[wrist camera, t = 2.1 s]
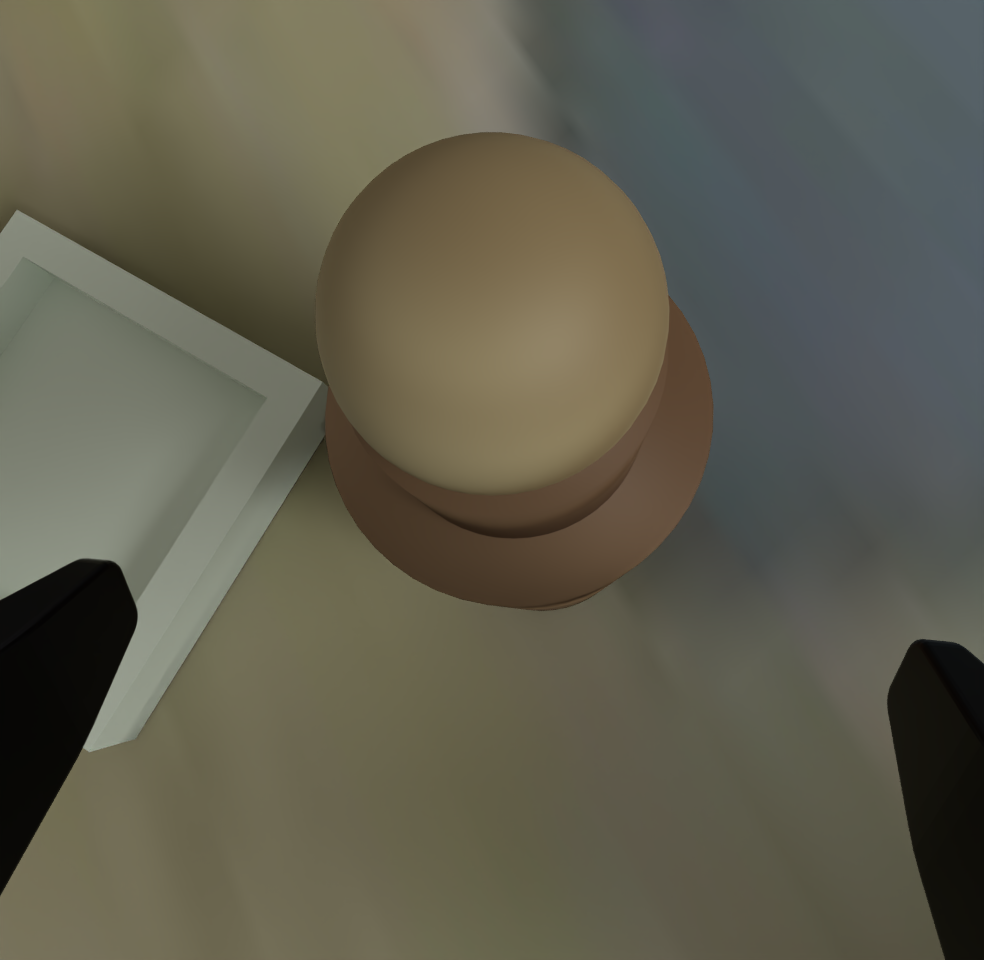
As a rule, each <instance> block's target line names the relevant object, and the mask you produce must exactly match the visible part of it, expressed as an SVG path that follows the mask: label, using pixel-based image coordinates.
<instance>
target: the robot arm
mask: <svg viewBox="0 0 984 960" xmlns="http://www.w3.org/2000/svg"><path fill="white" fill-rule="evenodd" d="M137 621H138V611H137V607H136V604H135V601H134V599H133V596H132V594H131V592H130V589H129V587H128V584H127V582H126V579H125V577H124V574H123V572H122V570H121V568H120V566H119V565H118V564H116V563H115V562H113V561H111V560H101V559H91V558H82V559H78V560H75V561H73V562H71V563H69V564H68V565H66V566H64V567H62V568H60V569H58V570H56V571H54V572H52V573H50V574H49V575H47V576H45V577H43V578H41V579H39V580H37V581H35V582H33V583H32V584H30V585H28V586H26V587H24V588H22V589H20V590H18V591H16V592H14V593H13V594H11V595H9V596H7V597H5V598H3V599H1V600H0V895H1V894H2V892H3V890H4V888H5V887H6V885H7V883H8V881H9V879H10V878H11V876H12V874H13V872H14V870H15V869H16V867H17V865H18V863H19V862H20V860H21V858H22V856H23V854H24V853H25V851H26V849H27V847H28V846H29V844H30V842H31V840H32V838H33V837H34V835H35V833H36V831H37V829H38V828H39V826H40V824H41V822H42V821H43V819H44V817H45V815H46V813H47V812H48V810H49V808H50V806H51V804H52V803H53V801H54V799H55V797H56V796H57V794H58V792H59V790H60V788H61V787H62V785H63V783H64V781H65V780H66V778H67V776H68V774H69V772H70V771H71V769H72V767H73V765H74V763H75V762H76V760H77V758H78V756H79V754H80V752H81V750H82V748H83V746H84V745H85V743H86V740H87V738H88V736H89V734H90V732H91V730H92V728H93V726H94V724H95V721H96V719H97V717H98V714H99V712H100V710H101V707H102V705H103V703H104V701H105V698H106V696H107V694H108V691H109V689H110V687H111V685H112V682H113V680H114V678H115V675H116V673H117V671H118V668H119V666H120V664H121V662H122V659H123V657H124V655H125V652H126V650H127V648H128V646H129V643H130V641H131V639H132V636H133V634H134V632H135V629H136V626H137ZM887 708H888V715H889V721H890V726H891V732H892V737H893V743H894V749H895V754H896V760H897V765H898V771H899V777H900V782H901V788H902V793H903V799H904V805H905V810H906V816H907V821H908V827H909V832H910V836H911V841H912V846H913V851H914V855H915V858H916V862H917V866H918V869H919V873H920V877H921V880H922V883H923V887H924V890H925V893H926V897H927V900H928V904H929V907H930V910H931V914H932V917H933V920H934V924H935V927H936V931H937V934H938V937H939V941H940V944H941V947H942V951H943V954H944V957H945V960H984V663H982V662H981V661H980V660H979V659H978V658H977V657H975V656H974V655H973V654H972V653H971V652H970V651H968V650H967V649H966V648H964V647H963V646H961V645H960V644H957V643H954V642H946V641H936V640H926V639H920V640H916V641H915V642H913V643H912V644H911V645H910V647H909V649H908V650H907V653H906V655H905V657H904V659H903V661H902V663H901V665H900V667H899V669H898V671H897V673H896V675H895V677H894V679H893V682H892V684H891V686H890V688H889V692H888V699H887Z"/></svg>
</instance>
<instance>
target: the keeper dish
mask: <svg viewBox="0 0 984 960" xmlns="http://www.w3.org/2000/svg"><path fill="white" fill-rule="evenodd" d="M327 394H328V386H326V385H325V384H324V383H323V382H322V381H320V380H318V379H317V378H315V377H313V376H311V375H310V374H308V373H306V372H304V371H303V370H301V369H299V368H297V367H295V366H294V365H292V364H290V363H288V362H287V361H285V360H283V359H281V358H279V357H278V356H276V355H274V354H272V353H271V352H269V351H267V350H265V349H263V348H262V347H260V346H258V345H256V344H255V343H253V342H251V341H249V340H247V339H246V338H244V337H242V336H240V335H239V334H237V333H235V332H233V331H231V330H230V329H228V328H226V327H224V326H223V325H221V324H219V323H217V322H216V321H214V320H212V319H210V318H208V317H207V316H205V315H203V314H201V313H200V312H198V311H196V310H194V309H192V308H191V307H189V306H187V305H185V304H184V303H182V302H180V301H178V300H176V299H175V298H173V297H171V296H169V295H168V294H166V293H164V292H162V291H160V290H159V289H157V288H155V287H153V286H152V285H150V284H148V283H146V282H145V281H143V280H141V279H139V278H137V277H136V276H134V275H132V274H130V273H129V272H127V271H125V270H123V269H121V268H120V267H118V266H116V265H114V264H113V263H111V262H109V261H107V260H105V259H104V258H102V257H100V256H98V255H97V254H95V253H93V252H91V251H89V250H88V249H86V248H84V247H82V246H81V245H79V244H77V243H75V242H74V241H72V240H70V239H68V238H66V237H65V236H63V235H61V234H59V233H58V232H56V231H54V230H52V229H50V228H49V227H47V226H45V225H43V224H42V223H40V222H38V221H36V220H34V219H33V218H31V217H29V216H27V215H26V214H24V213H22V212H20V211H18V210H16V212H15V213H14V215H13V216H12V218H11V219H10V220H9V222H8V223H7V225H6V226H5V227H4V229H3V230H2V232H1V233H0V600H1V599H3V598H5V597H7V596H9V595H11V594H13V593H14V592H16V591H18V590H20V589H22V588H24V587H26V586H28V585H30V584H32V583H33V582H35V581H37V580H39V579H41V578H43V577H45V576H47V575H49V574H50V573H52V572H54V571H56V570H58V569H60V568H62V567H64V566H66V565H68V564H69V563H71V562H73V561H75V560H78V559H82V558H91V559H101V560H111V561H113V562H115V563H116V564H118V565H119V566H120V568H121V570H122V572H123V574H124V577H125V579H126V582H127V584H128V587H129V589H130V592H131V594H132V596H133V599H134V601H135V604H136V607H137V611H138V621H137V626H136V629H135V632H134V634H133V636H132V639H131V641H130V643H129V646H128V648H127V650H126V652H125V655H124V657H123V659H122V662H121V664H120V666H119V668H118V671H117V673H116V675H115V678H114V680H113V682H112V685H111V687H110V689H109V691H108V694H107V696H106V698H105V701H104V703H103V705H102V707H101V710H100V712H99V714H98V717H97V719H96V721H95V724H94V726H93V728H92V730H91V732H90V734H89V736H88V738H87V740H86V743H85V745H84V746H83V748H84V749H86V750H87V751H88V752H92V751H95V750H98V749H102V748H105V747H109V746H112V745H116V744H119V743H123V742H126V741H130V740H133V739H136V737H137V736H138V734H139V732H140V731H141V729H142V728H143V726H144V724H145V723H146V721H147V720H148V718H149V716H150V715H151V713H152V712H153V710H154V708H155V707H156V705H157V704H158V702H159V700H160V699H161V697H162V696H163V694H164V692H165V691H166V689H167V688H168V686H169V684H170V683H171V681H172V679H173V678H174V676H175V675H176V673H177V671H178V670H179V668H180V667H181V665H182V663H183V662H184V660H185V659H186V657H187V655H188V654H189V652H190V651H191V649H192V647H193V646H194V644H195V643H196V641H197V639H198V638H199V636H200V635H201V633H202V631H203V630H204V628H205V627H206V625H207V623H208V622H209V620H210V619H211V617H212V615H213V614H214V612H215V611H216V609H217V607H218V606H219V604H220V603H221V601H222V599H223V598H224V596H225V595H226V593H227V591H228V590H229V588H230V587H231V585H232V583H233V582H234V580H235V579H236V577H237V575H238V574H239V572H240V570H241V569H242V567H243V566H244V564H245V562H246V561H247V559H248V558H249V556H250V554H251V553H252V551H253V550H254V548H255V546H256V545H257V543H258V542H259V540H260V538H261V537H262V535H263V534H264V532H265V530H266V529H267V527H268V526H269V524H270V522H271V521H272V519H273V518H274V516H275V514H276V513H277V511H278V510H279V508H280V506H281V505H282V503H283V502H284V500H285V498H286V497H287V495H288V494H289V492H290V490H291V489H292V487H293V486H294V484H295V482H296V481H297V479H298V478H299V476H300V474H301V473H302V471H303V470H304V468H305V466H306V465H307V463H308V462H309V460H310V458H311V457H312V455H313V453H314V452H315V450H316V449H317V447H318V445H319V444H320V442H321V441H322V439H323V437H324V436H325V410H326V402H327Z"/></svg>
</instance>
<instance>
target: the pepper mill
mask: <svg viewBox="0 0 984 960" xmlns="http://www.w3.org/2000/svg"><path fill="white" fill-rule="evenodd" d="M315 328H316V338H317V345H318V351H319V356H320V359H321V362H322V366H323V369H324V373H325V376H326V378H327V381H328V384H329V387H328V394H327V402H326V410H325V436H326V444H327V451H328V457H329V463H330V466H331V470H332V473H333V476H334V480H335V483H336V486H337V488H338V491H339V493H340V495H341V497H342V500H343V502H344V504H345V506H346V508H347V510H348V511H349V513H350V515H351V516H352V518H353V519H354V521H355V523H356V524H357V526H358V528H359V529H360V530H361V531H362V532H363V534H364V535H365V536H366V537H367V539H368V540H369V541H370V542H371V543H372V545H373V546H374V547H375V548H376V549H377V550H378V551H379V552H380V553H381V554H383V555H384V556H385V557H386V558H387V559H388V560H389V561H390V562H391V563H392V564H393V565H395V566H396V567H398V568H399V569H401V570H402V571H403V572H405V573H406V574H408V575H409V576H411V577H412V578H413V579H415V580H417V581H419V582H421V583H423V584H425V585H427V586H429V587H431V588H433V589H435V590H437V591H439V592H442V593H445V594H448V595H451V596H453V597H456V598H459V599H462V600H467V601H472V602H477V603H481V604H486V605H494V606H502V607H510V608H518V609H526V610H538V611H545V610H556V609H562V608H567V607H570V606H572V605H575V604H578V603H580V602H583V601H585V600H587V599H589V598H590V597H592V596H593V595H595V594H596V593H598V592H599V591H601V590H602V589H604V588H605V587H607V586H608V585H610V584H611V583H612V582H614V581H615V580H617V579H618V578H620V577H621V576H623V575H624V574H625V573H627V572H628V571H630V570H631V569H633V568H634V567H635V566H637V565H638V564H639V563H641V562H642V561H643V560H644V559H645V558H646V557H647V556H649V555H650V554H651V553H652V552H653V551H654V550H655V549H656V548H658V547H659V545H660V544H661V543H662V542H663V541H664V540H665V538H666V537H667V536H668V535H669V534H670V533H671V531H672V530H673V529H674V528H675V527H676V525H677V524H678V522H679V521H680V519H681V518H682V516H683V515H684V513H685V511H686V510H687V508H688V507H689V505H690V503H691V501H692V499H693V497H694V495H695V493H696V491H697V488H698V486H699V484H700V482H701V479H702V476H703V473H704V470H705V466H706V463H707V460H708V457H709V451H710V445H711V438H712V432H713V399H712V391H711V382H710V378H709V374H708V370H707V366H706V362H705V358H704V355H703V353H702V351H701V348H700V346H699V343H698V341H697V338H696V336H695V334H694V332H693V330H692V329H691V327H690V325H689V323H688V322H687V320H686V318H685V317H684V315H683V313H682V312H681V310H680V309H679V308H678V307H677V305H676V304H675V303H674V302H673V300H672V299H671V298H670V296H669V295H668V291H667V283H666V276H665V273H664V269H663V265H662V261H661V257H660V254H659V251H658V249H657V247H656V244H655V242H654V239H653V237H652V235H651V233H650V231H649V229H648V227H647V225H646V224H645V222H644V220H643V219H642V217H641V215H640V213H639V212H638V210H637V208H636V207H635V206H634V204H633V203H632V202H631V201H630V199H629V198H628V197H627V196H626V194H625V193H624V192H623V191H622V190H621V189H620V188H619V187H618V186H617V185H616V184H615V183H614V182H613V181H612V180H611V179H610V178H609V177H607V176H606V175H605V174H604V173H603V172H602V171H601V170H599V169H598V168H597V167H595V166H594V165H592V164H591V163H590V162H588V161H587V160H586V159H584V158H582V157H580V156H579V155H577V154H575V153H573V152H571V151H569V150H568V149H566V148H563V147H560V146H558V145H555V144H553V143H550V142H547V141H544V140H540V139H536V138H532V137H528V136H524V135H518V134H510V133H502V132H481V133H473V134H464V135H459V136H455V137H450V138H446V139H442V140H439V141H437V142H434V143H431V144H428V145H426V146H423V147H421V148H419V149H417V150H415V151H413V152H411V153H409V154H407V155H405V156H404V157H402V158H401V159H399V160H398V161H396V162H394V163H393V164H391V165H390V166H389V167H387V168H386V169H385V170H384V171H383V172H381V173H380V174H379V175H378V176H377V177H375V178H374V179H373V180H372V181H371V182H370V183H369V184H368V185H367V186H366V187H365V189H364V190H363V191H362V192H361V193H360V194H359V195H358V196H357V197H356V198H355V200H354V201H353V202H352V204H351V205H350V206H349V208H348V209H347V210H346V212H345V213H344V215H343V216H342V218H341V220H340V222H339V223H338V225H337V227H336V229H335V231H334V232H333V235H332V237H331V240H330V242H329V245H328V247H327V250H326V252H325V255H324V258H323V262H322V266H321V269H320V273H319V277H318V282H317V290H316V298H315Z"/></svg>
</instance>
